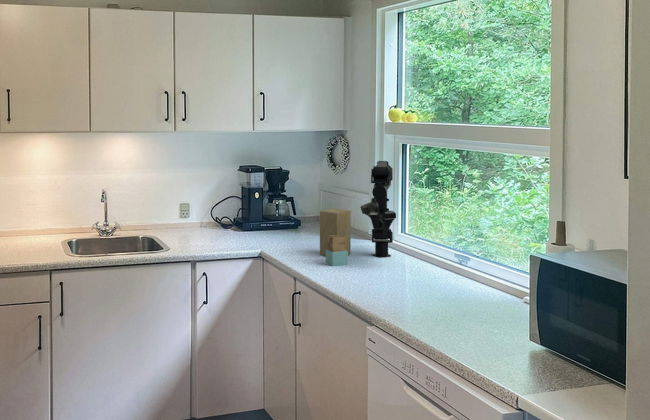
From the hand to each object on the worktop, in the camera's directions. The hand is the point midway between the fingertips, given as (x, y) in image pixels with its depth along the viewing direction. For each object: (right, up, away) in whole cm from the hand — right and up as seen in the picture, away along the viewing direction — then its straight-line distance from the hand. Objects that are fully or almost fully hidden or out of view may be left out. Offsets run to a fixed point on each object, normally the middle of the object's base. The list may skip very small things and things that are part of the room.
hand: (380, 232), depth 342 cm
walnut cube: (-18, -7, -2) cm, 20 cm away
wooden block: (-19, -11, +19) cm, 29 cm away
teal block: (-18, -13, -1) cm, 23 cm away
